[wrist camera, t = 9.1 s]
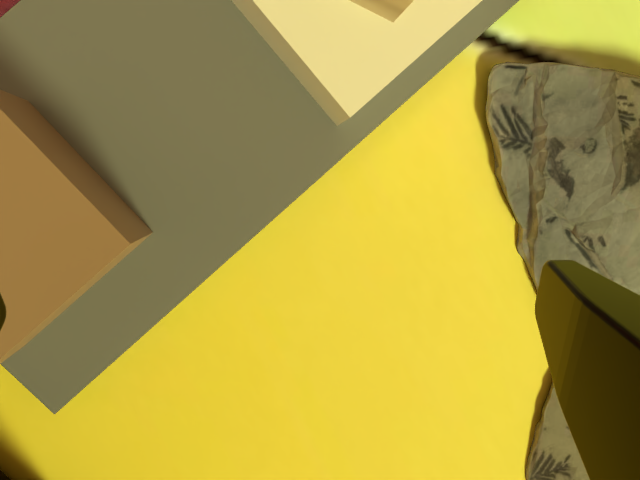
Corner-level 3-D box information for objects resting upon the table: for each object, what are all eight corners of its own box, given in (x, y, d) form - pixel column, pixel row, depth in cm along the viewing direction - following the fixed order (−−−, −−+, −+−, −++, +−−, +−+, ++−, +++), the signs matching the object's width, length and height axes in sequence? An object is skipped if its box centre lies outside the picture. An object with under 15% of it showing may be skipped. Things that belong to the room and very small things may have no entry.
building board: (63, 403, 21) (7, 471, 16) (-171, 182, 19) (-318, 181, 14) (509, 5, 22) (589, -48, 17) (327, -241, 20) (355, -384, 15)
